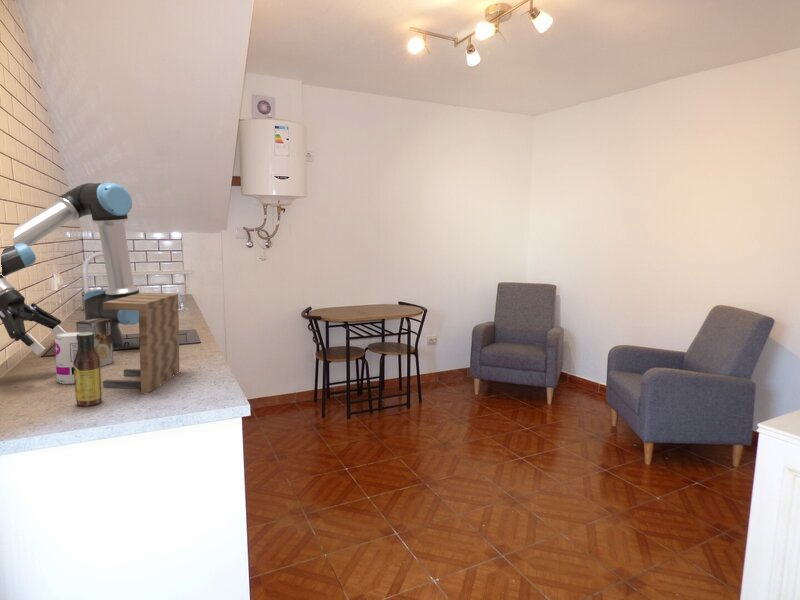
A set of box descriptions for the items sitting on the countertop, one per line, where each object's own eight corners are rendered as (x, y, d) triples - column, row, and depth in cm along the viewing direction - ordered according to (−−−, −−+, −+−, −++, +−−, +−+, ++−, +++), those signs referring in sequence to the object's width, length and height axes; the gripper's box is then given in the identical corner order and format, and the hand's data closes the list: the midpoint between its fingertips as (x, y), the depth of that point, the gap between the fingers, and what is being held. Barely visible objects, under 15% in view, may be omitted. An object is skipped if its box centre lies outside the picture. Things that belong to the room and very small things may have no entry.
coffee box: (98, 361, 181) (97, 317, 179) (114, 362, 180) (112, 318, 178) (77, 367, 172) (75, 321, 170) (93, 369, 171) (91, 323, 169)
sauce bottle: (83, 399, 141) (80, 330, 139) (106, 399, 142) (104, 331, 139) (70, 407, 135) (66, 335, 132) (94, 407, 135) (91, 335, 133)
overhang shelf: (133, 370, 171) (130, 292, 167) (179, 371, 172) (178, 293, 168) (94, 392, 147) (90, 302, 143) (148, 394, 148) (145, 303, 144)
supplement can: (55, 386, 152) (52, 337, 150) (59, 378, 159) (56, 332, 157) (86, 383, 155) (84, 336, 153) (89, 376, 163) (87, 331, 161)
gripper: (24, 299, 164) (72, 346, 167) (-39, 311, 140) (19, 365, 142) (40, 284, 164) (88, 331, 167) (-21, 293, 139) (37, 347, 142)
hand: (56, 347), depth 154 cm, fingers open, 13 cm apart
